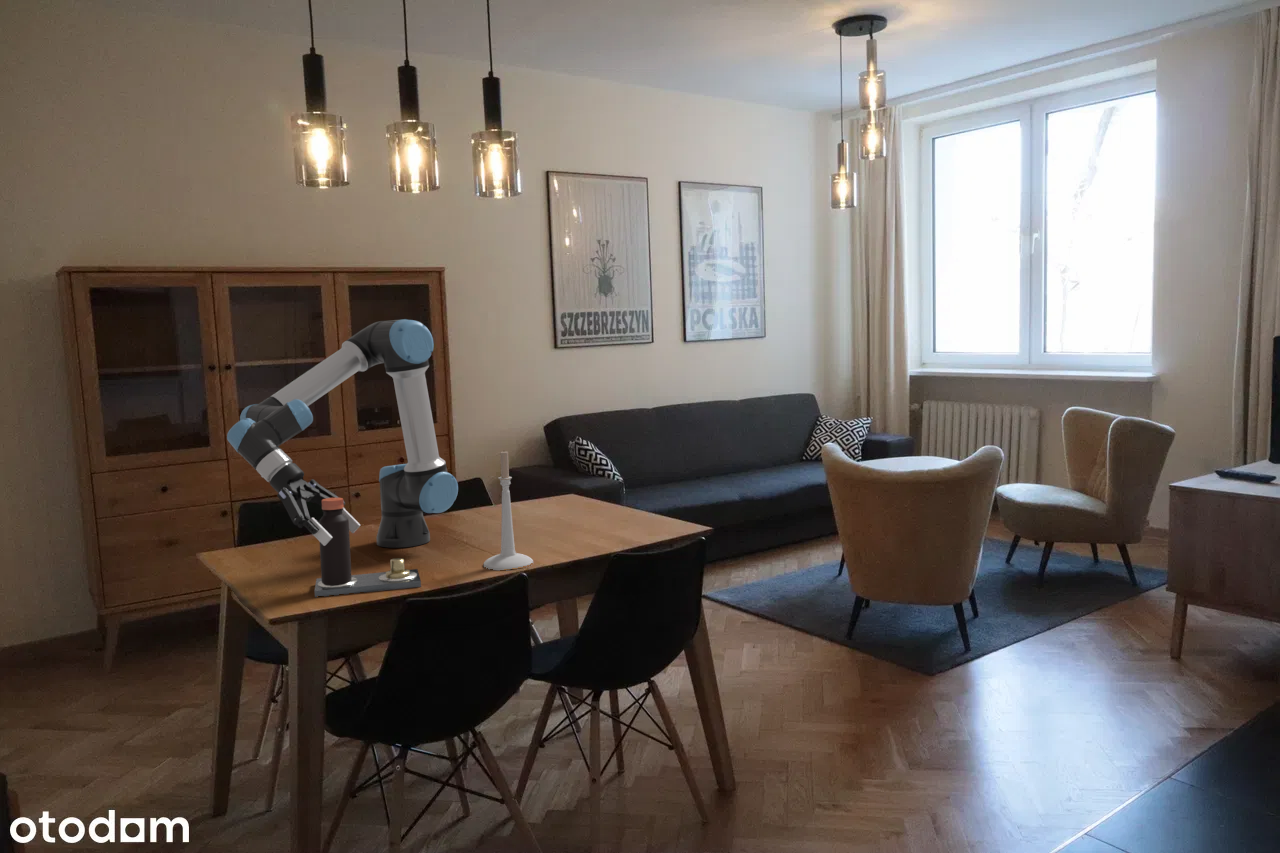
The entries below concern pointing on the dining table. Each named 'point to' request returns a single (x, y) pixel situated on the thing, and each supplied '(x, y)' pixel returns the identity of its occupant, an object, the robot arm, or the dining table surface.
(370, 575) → the plate
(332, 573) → the vinegar
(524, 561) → the candlestick
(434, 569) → the dining table surface
